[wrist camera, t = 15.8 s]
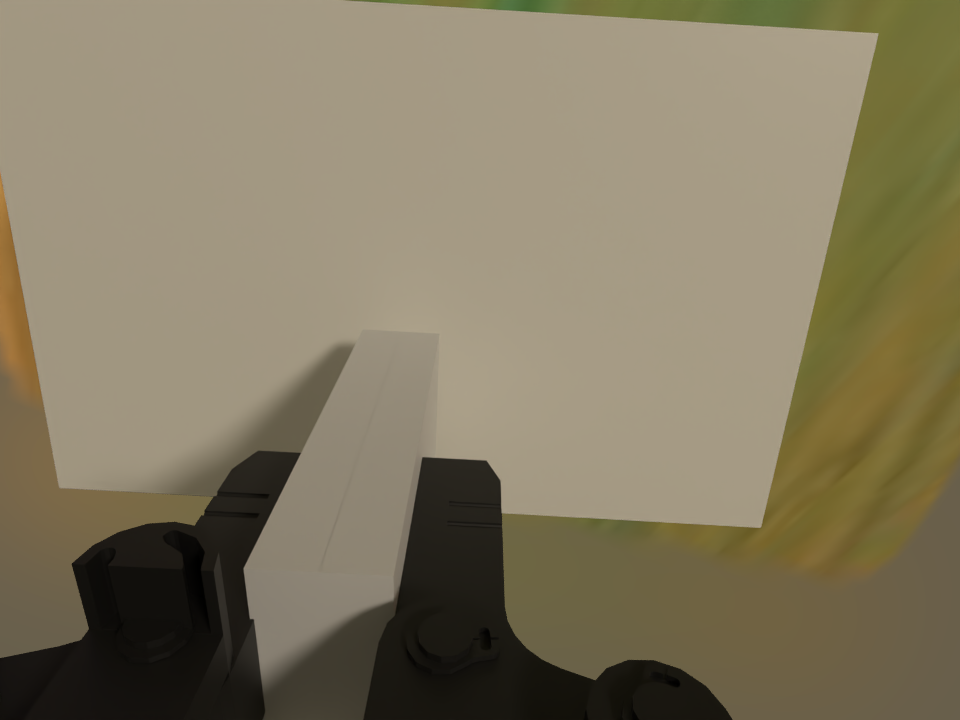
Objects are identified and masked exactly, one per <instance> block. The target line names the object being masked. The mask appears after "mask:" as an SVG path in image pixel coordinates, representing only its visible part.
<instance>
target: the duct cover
mask: <svg viewBox="0 0 960 720" xmlns="http://www.w3.org/2000/svg"><path fill="white" fill-rule="evenodd" d="M877 38H878V33H861V32H845V31H829V30H813V29H797V28H780V27H764V26H748V25H732V24H716V23H700V22H683V21H667V20H651V19H635V18H619V17H602V16H586V15H570V14H554V13H538V12H522V11H505V10H489V9H473V8H457V7H441V6H424V5H408V4H392V3H376V2H360V1H344V0H0V172H1V177H2V183H3V188H4V193H5V199H6V204H7V210H8V215H9V220H10V226H11V231H12V236H13V242H14V247H15V253H16V258H17V263H18V269H19V274H20V280H21V285H22V290H23V296H24V301H25V306H26V312H27V317H28V323H29V328H30V333H31V339H32V344H33V350H34V355H35V360H36V366H37V371H38V376H39V382H40V387H41V393H42V398H43V403H44V409H45V414H46V419H47V425H48V430H49V435H50V441H51V446H52V452H53V457H54V463H55V468H56V473H57V479H58V484H59V488H70V489H86V490H104V491H123V492H139V493H157V494H175V495H192V496H210V497H214V496H217V491H218V489H219V488H220V486H221V485H222V483H223V482H224V480H225V479H226V477H227V476H228V474H229V473H230V471H231V470H232V468H234V467H235V466H237V465H238V464H240V463H241V462H242V461H244V460H245V459H247V458H248V457H250V456H251V455H252V454H254V453H255V452H257V451H277V452H296V453H301V452H302V450H303V448H304V446H305V444H306V442H307V440H308V438H309V436H310V434H311V432H312V430H313V428H314V426H315V424H316V422H317V420H318V418H319V416H320V414H321V412H322V410H323V408H324V406H325V404H326V402H327V400H328V398H329V396H330V394H331V392H332V390H333V388H334V386H335V384H336V382H337V380H338V378H339V376H340V374H341V372H342V370H343V368H344V366H345V364H346V362H347V360H348V358H349V356H350V354H351V352H352V350H353V348H354V346H355V344H356V342H357V340H358V338H359V336H360V334H361V332H362V330H363V329H364V330H382V331H399V332H417V333H435V334H440V335H439V366H438V398H437V429H436V454H435V458H450V459H468V460H487V462H488V463H489V465H490V466H491V468H492V469H493V470H494V472H495V473H496V475H497V476H498V478H499V479H500V481H501V509H502V513H510V514H527V515H545V516H563V517H580V518H598V519H615V520H633V521H651V522H668V523H686V524H704V525H721V526H739V527H757V528H761V525H762V521H763V517H764V513H765V508H766V504H767V500H768V496H769V492H770V487H771V483H772V479H773V475H774V471H775V466H776V462H777V458H778V454H779V449H780V445H781V441H782V437H783V433H784V428H785V424H786V420H787V416H788V412H789V407H790V403H791V399H792V395H793V391H794V386H795V382H796V378H797V374H798V370H799V365H800V361H801V357H802V353H803V349H804V344H805V340H806V336H807V332H808V328H809V323H810V319H811V315H812V311H813V307H814V302H815V298H816V294H817V290H818V286H819V281H820V277H821V273H822V269H823V265H824V260H825V256H826V252H827V248H828V244H829V239H830V235H831V231H832V227H833V223H834V218H835V214H836V210H837V206H838V202H839V197H840V193H841V189H842V185H843V181H844V176H845V172H846V168H847V164H848V160H849V155H850V151H851V147H852V143H853V139H854V134H855V130H856V126H857V122H858V118H859V113H860V109H861V105H862V101H863V97H864V92H865V88H866V84H867V80H868V76H869V71H870V67H871V63H872V59H873V55H874V50H875V46H876V42H877Z"/></svg>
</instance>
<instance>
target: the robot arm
mask: <svg viewBox="0 0 960 720" xmlns="http://www.w3.org/2000/svg"><path fill="white" fill-rule="evenodd" d="M439 335H440V334H435V333H417V332H399V331H382V330H364V329H363V330H362V332H361V334H360V336H359V338H358V340H357V342H356V344H355V346H354V348H353V350H352V352H351V354H350V356H349V358H348V360H347V362H346V364H345V366H344V368H343V370H342V372H341V374H340V376H339V378H338V380H337V382H336V384H335V386H334V388H333V390H332V392H331V394H330V396H329V398H328V400H327V402H326V404H325V406H324V408H323V410H322V412H321V414H320V416H319V418H318V420H317V422H316V424H315V426H314V428H313V430H312V432H311V434H310V436H309V438H308V440H307V442H306V444H305V446H304V448H303V450H302V452H301V453H296V452H277V451H257V452H255V453H254V454H252V455H251V456H250V457H248V458H247V459H245V460H244V461H242V462H241V463H240V464H238V465H237V466H235V467H234V468H232V470H231V471H230V473H229V474H228V476H227V477H226V479H225V480H224V482H223V483H222V485H221V486H220V488H219V489H218V491H217V496H214V497H213V499H212V500H211V502H210V503H209V505H208V506H207V508H206V509H205V513H204V516H201V517H200V518H199V520H198V521H197V523H196V525H195V526H192V525H188V524H183V523H177V522H167V523H152V524H145V525H142V526H138V527H135V528H131V529H128V530H124V531H121V532H118V533H116V534H114V535H112V536H110V537H108V538H107V539H105V540H103V541H101V542H99V543H97V544H95V545H93V546H92V547H91V548H89V550H87V551H86V552H85V553H84V554H82V555H81V556H80V557H79V558H78V559H77V560H76V561H75V562H73V563H72V567H73V571H74V574H75V578H76V581H77V586H78V589H79V593H80V597H81V600H82V604H83V608H84V612H85V615H86V619H87V623H88V626H89V630H88V632H87V633H86V634H85V636H84V637H83V638H82V640H80V641H77V642H73V643H69V644H66V645H62V646H59V647H54V648H48V649H43V650H39V651H34V652H29V653H24V654H19V655H14V656H9V657H4V658H0V720H732V718H731V717H730V715H729V713H728V712H727V711H726V709H725V708H724V706H723V705H722V704H721V703H720V702H719V701H718V700H717V698H716V697H715V696H714V695H713V694H712V693H711V691H710V690H709V689H708V688H707V687H706V686H705V685H703V684H702V683H701V682H699V681H698V680H696V679H694V678H693V677H692V676H690V675H689V674H687V673H686V672H684V671H682V670H681V669H678V668H676V667H673V666H670V665H666V664H663V663H660V662H657V661H654V660H627V661H624V662H622V663H619V664H617V665H614V666H611V667H609V668H606V670H605V671H604V672H603V673H602V674H601V675H600V676H599V677H598V678H597V679H596V680H593V679H590V678H587V677H584V676H581V675H578V674H575V673H572V672H569V671H567V670H564V669H561V668H559V667H557V666H554V665H552V664H550V663H548V662H546V661H544V660H542V659H540V658H539V657H538V656H536V655H535V654H533V653H532V652H531V651H529V650H528V649H527V648H526V647H525V646H524V645H523V644H522V643H521V641H520V640H519V639H518V638H517V637H516V636H515V634H514V633H513V631H512V629H511V627H510V625H509V623H508V621H507V616H506V611H505V601H504V570H503V538H502V509H501V481H500V479H499V478H498V476H497V475H496V473H495V472H494V470H493V469H492V468H491V466H490V465H489V463H488V462H487V460H468V459H450V458H435V454H436V429H437V398H438V366H439Z"/></svg>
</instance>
